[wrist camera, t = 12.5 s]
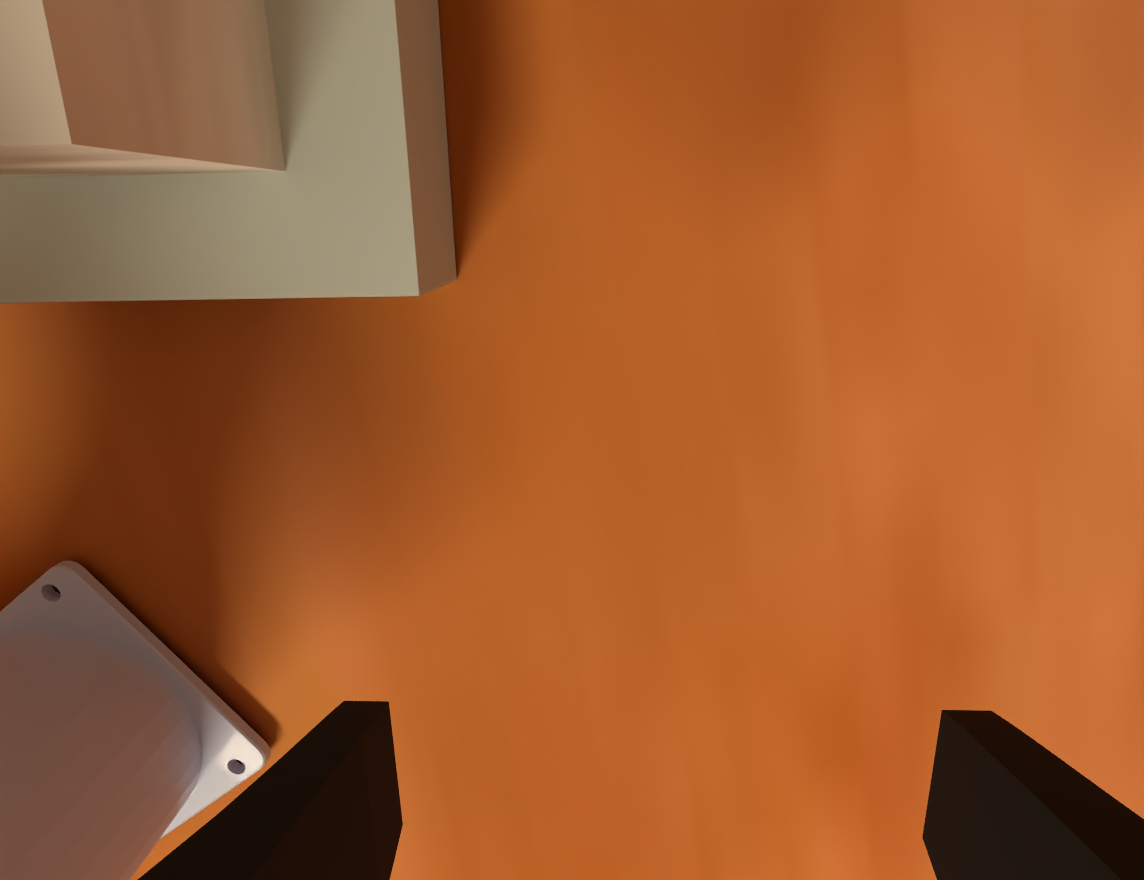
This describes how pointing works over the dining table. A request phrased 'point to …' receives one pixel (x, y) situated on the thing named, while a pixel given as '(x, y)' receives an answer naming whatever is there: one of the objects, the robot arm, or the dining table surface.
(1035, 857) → the robot arm
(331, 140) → the sage pedestal
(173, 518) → the dining table surface
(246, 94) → the cream cube
